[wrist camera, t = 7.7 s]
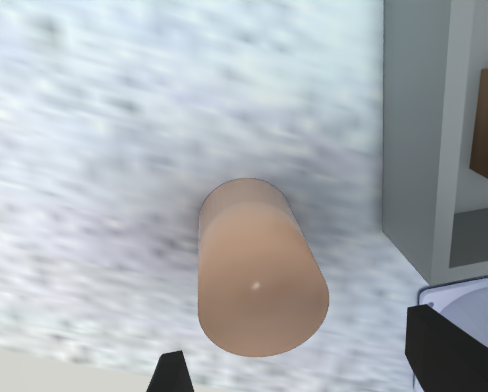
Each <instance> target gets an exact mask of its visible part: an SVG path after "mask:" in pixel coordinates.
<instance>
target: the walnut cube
mask: <svg viewBox="0 0 488 392" xmlns="http://www.w3.org/2000/svg"><path fill="white" fill-rule="evenodd" d="M469 169H471V170H473V171H474V172H476V173H478V174H480V175H482V176H484V177H485V178H487V179H488V68H485V69H481V76H480V84H479V93H478V101H477V109H476V117H475V125H474V133H473V141H472V149H471V157H470V166H469Z"/></svg>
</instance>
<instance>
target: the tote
mask: <svg viewBox="0 0 488 392" xmlns="http://www.w3.org/2000/svg"><path fill="white" fill-rule="evenodd" d="M485 68H488V0H384V110H383V232H384V233H385V234H386V236H387V237H388V238H389V239H390V240H391V241H392V243H393V244H394V245H395V246H396V247H397V248H398V249H399V251H400V252H401V253H402V254H403V255H404V256H405V258H406V259H407V260H408V261H409V262H410V263H411V264H412V266H413V267H414V268H415V269H416V270H417V271H418V272H419V274H420V275H421V276H422V277H423V278H424V279H425V281H426V282H427V283H428V284H429V285H430V286H433V285H438V284H443V283H449V282H454V281H459V280H464V279H469V278H475V277H480V276H485V275H488V179H487V178H485V177H484V176H482V175H480V174H478V173H476V172H474V171H473V170H471V169H469V166H470V157H471V149H472V141H473V133H474V125H475V117H476V109H477V101H478V93H479V84H480V76H481V69H485Z"/></svg>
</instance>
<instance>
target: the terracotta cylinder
mask: <svg viewBox="0 0 488 392" xmlns="http://www.w3.org/2000/svg"><path fill="white" fill-rule="evenodd" d="M328 307H329V291H328V287H327V284H326V282H325V280H324V278H323V276H322V273H321V271H320V269H319V267H318V265H317V263H316V261H315V259H314V257H313V255H312V253H311V251H310V248H309V246H308V244H307V242H306V240H305V238H304V236H303V234H302V232H301V230H300V228H299V226H298V223H297V221H296V219H295V217H294V215H293V213H292V211H291V209H290V207H289V205H288V203H287V201H286V199H285V197H284V196H283V194H282V193H281V192H280V191H279V190H278V189H277V188H276V187H274V186H273V185H271V184H269V183H268V182H265V181H263V180H259V179H253V178H241V179H235V180H231V181H229V182H226V183H224V184H222V185H220V186H219V187H217V188H216V189H215V190H214V191H212V192H211V193H210V194H209V196H208V197H207V198H206V200H205V201H204V203H203V205H202V207H201V210H200V214H199V257H198V317H199V322H200V325H201V327H202V329H203V331H204V333H205V334H206V335H207V337H208V338H209V339H210V340H211V341H212V342H213V343H214V344H216V345H217V346H218V347H220V348H222V349H223V350H225V351H228V352H230V353H233V354H236V355H240V356H246V357H267V356H273V355H277V354H281V353H284V352H287V351H289V350H291V349H293V348H296V347H297V346H299V345H301V344H302V343H304V342H305V341H306V340H308V339H309V338H310V337H311V336H312V335H313V334H314V333H315V332H316V331H317V330H318V329H319V327H320V326H321V324H322V323H323V321H324V319H325V317H326V314H327V311H328Z"/></svg>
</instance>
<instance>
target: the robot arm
mask: <svg viewBox="0 0 488 392" xmlns="http://www.w3.org/2000/svg"><path fill="white" fill-rule="evenodd" d="M429 302H430V303H429ZM428 303H429V304H428ZM405 355H406V357H407V359H408V361H409V364H410V366H411V368H412V370H413V372H414V374H415V383H414V390H415V392H488V278H484V279H479V280H474V281H469V282H463V283H458V284H453V285H448V286H443V287H438V288H432V289H427V290H425V291H423V292H422V293H421V294H420V299H419V305H418V306H413V307H408V308H407V327H406V346H405ZM146 392H194V389H193V386H192V382H191V379H190V376H189V372H188V369H187V366H186V362H185V359H184V355H183V352H182V350H181V351H176V352H171V353H165V354H162V355H161V357H160V358H159V361H158V364H157V366H156V369H155V372H154V374H153V377H152V379H151V382H150V384H149V386H148V389H147V391H146Z"/></svg>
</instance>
